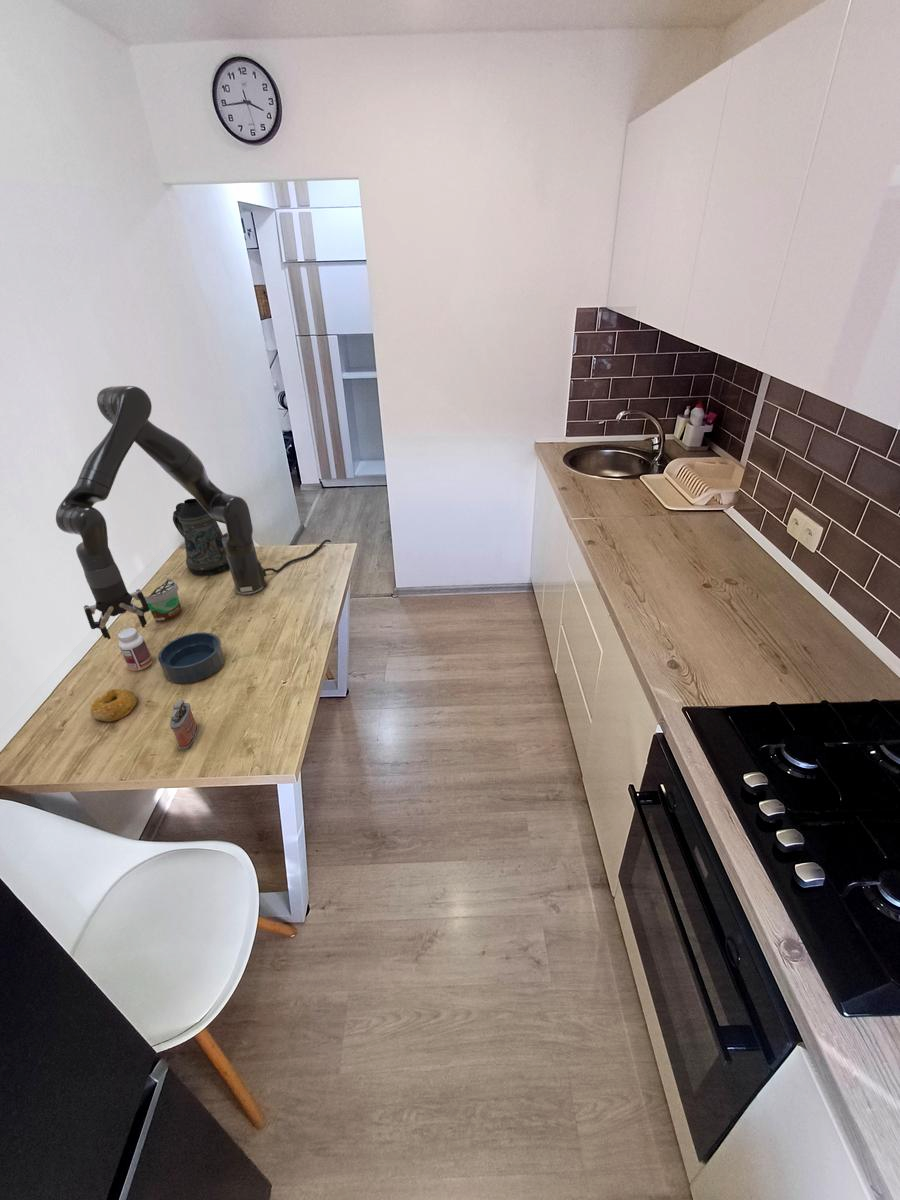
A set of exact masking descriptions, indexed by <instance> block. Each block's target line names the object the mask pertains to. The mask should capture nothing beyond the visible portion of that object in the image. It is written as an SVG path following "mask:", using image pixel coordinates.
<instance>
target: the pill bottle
mask: <svg viewBox="0 0 900 1200" xmlns="http://www.w3.org/2000/svg"><path fill="white" fill-rule="evenodd" d="M117 637H118V640H119V641H118V647H119V649H120V652H121V654H122V656H123V658H124V660H125V662H126V664H127V667H128V668H129V670H130V671H134V672H137V671H138V672H139V671H142V670H145V669H147V668H149V666H151V664H152V663H153V657H152V655H151V652H150V650H149V647H148V646H147V643H146V641H145V638H144V636H143V635H142V634H139V632H138V630H137V629H136V628H135V627H128V628H125V629H123V630H122V629H121V631H119V632H118V634H117Z"/></svg>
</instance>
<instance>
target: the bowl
mask: <svg viewBox="0 0 900 1200" xmlns="http://www.w3.org/2000/svg"><path fill="white" fill-rule="evenodd" d="M157 660H158V663H159V665H160V668H161V670H162V672H163V675H164V677H165V679H166V680H168V681H169V682H172V683H176V684H191V683H194V682H199V681H201V680H204V679H207V678H209V677H210V676H212V675H213V674H215V673H216V672H218V671H219V670H220V669H221V668H222V667H223V664H225V661H226V654H225V651H224V648H223V644H222V641H221V640H220V638H219V636H217V635H215V634H214V633H211V632H206V631H205V632H204V631H203V632H193V633H188V634H184V635H180V636H179V637H177V638H175V639H173V640H171V641H169V642H168V643H167V644H165V645H164V646H163V647H162V648H161V650H160V651H159V653H158V656H157Z"/></svg>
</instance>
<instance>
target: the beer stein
mask: <svg viewBox="0 0 900 1200" xmlns="http://www.w3.org/2000/svg"><path fill="white" fill-rule="evenodd" d="M172 514H173V515H172V522H173V525H174V527H175V528H176V530H177V532H178V533H179V534H180V535H181V536H182V537H183V539H184V545H185V553H186V554H185V555H186V557H185V558H186V559H185V564H186V567H187V568H188V570H189V572H190V573H191V574H192V575H194V576H199V577H208V576H209V577H210V576H215V575H219V574H222V573H224V572H226V571H228V570H230V567H229V564H228V560H227V557H226V553H225V550H224V546H223V543H222V536H223V535H224V533H223V532H222V530H221V528H220V526H219V522H218V521H216V520H214V519H213V518H212V517H211V516H210V515H209V514H208V513H207V512H206V511H205V509H204V508H203V507H202V506H201V504H200V503H199V502H198V501H197V500H196V499H195V498H186V499H184V501H183V502H179V503H177V504H176V506H175V510H174V511H173V512H172Z"/></svg>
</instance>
